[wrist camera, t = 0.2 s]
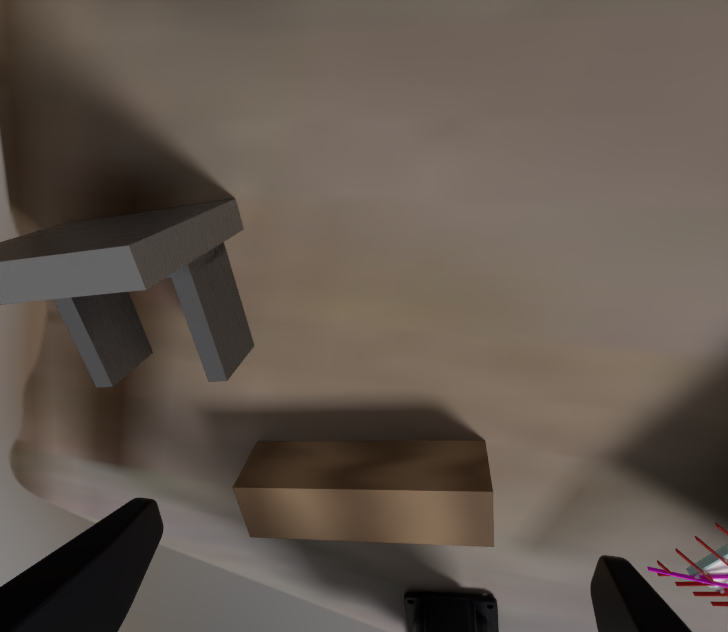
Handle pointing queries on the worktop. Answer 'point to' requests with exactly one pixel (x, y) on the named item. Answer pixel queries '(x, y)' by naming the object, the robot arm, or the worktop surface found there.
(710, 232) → the worktop surface
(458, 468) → the rail
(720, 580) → the pink cream flat block
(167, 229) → the bracket
